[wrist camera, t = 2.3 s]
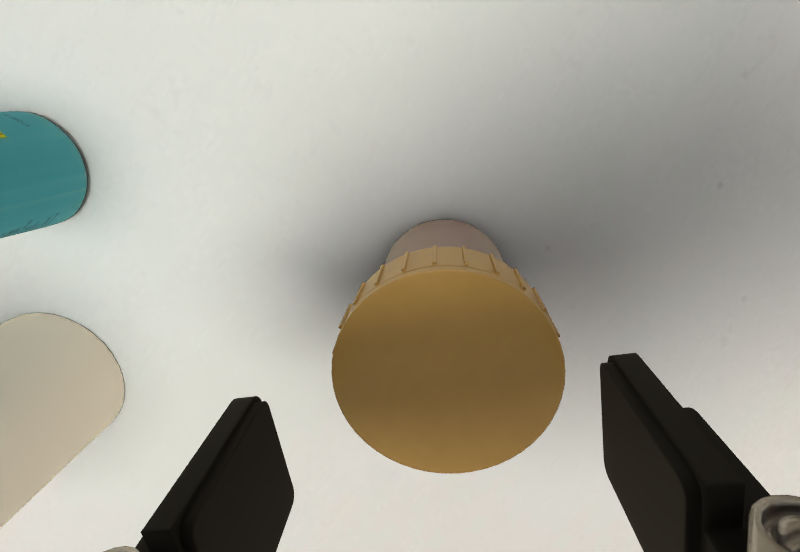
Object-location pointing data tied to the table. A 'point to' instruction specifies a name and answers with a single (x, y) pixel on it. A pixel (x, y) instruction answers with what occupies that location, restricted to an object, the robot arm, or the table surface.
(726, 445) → the robot arm
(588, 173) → the table surface
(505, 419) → the jar lid
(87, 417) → the cylindrical container
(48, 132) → the tube
